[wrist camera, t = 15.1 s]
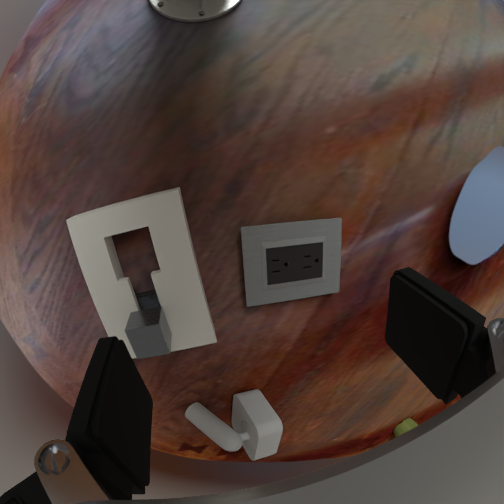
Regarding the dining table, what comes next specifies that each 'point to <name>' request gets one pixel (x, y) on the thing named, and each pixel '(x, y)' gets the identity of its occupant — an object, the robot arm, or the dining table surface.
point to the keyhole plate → (165, 280)
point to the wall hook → (242, 425)
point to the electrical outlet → (291, 260)
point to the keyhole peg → (148, 327)
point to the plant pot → (404, 427)
